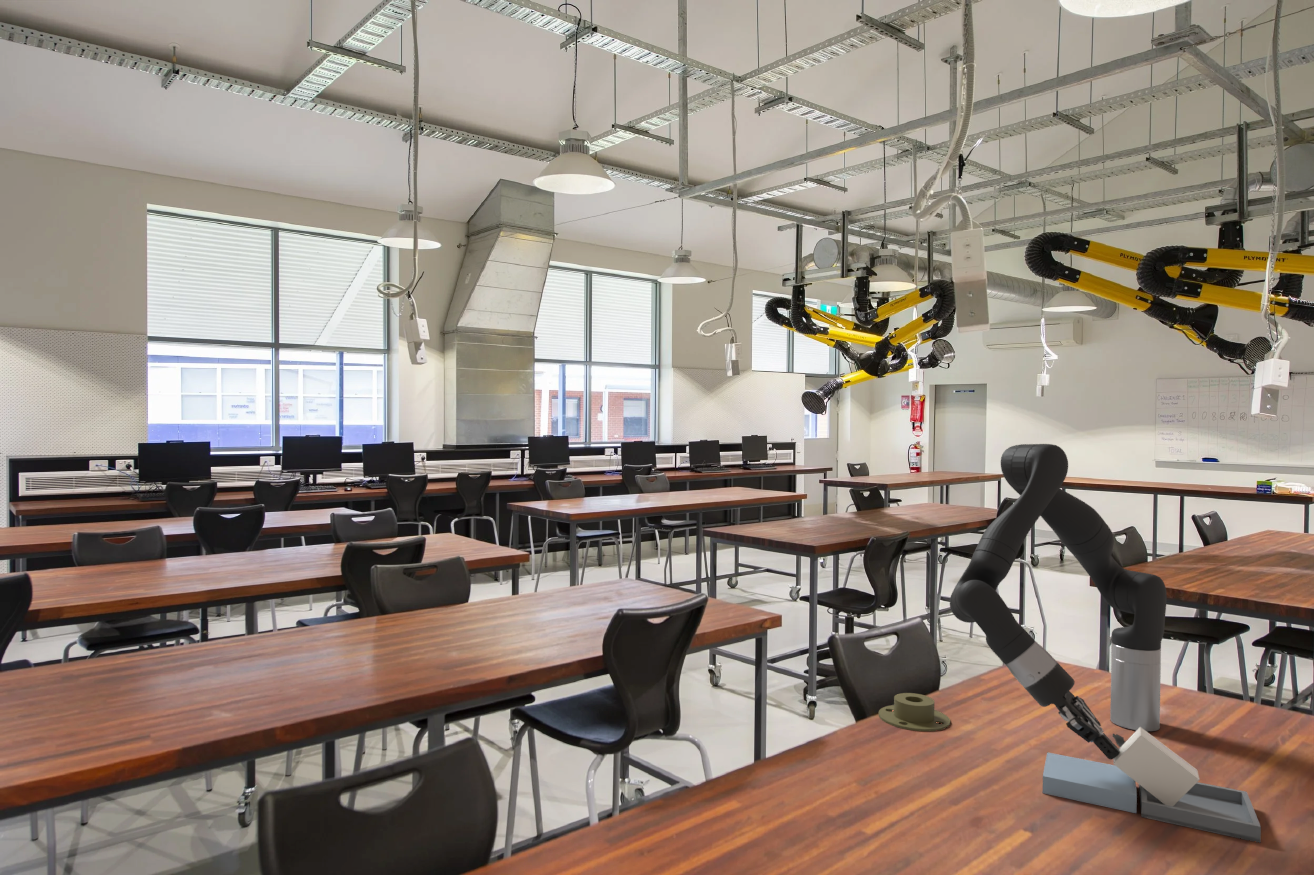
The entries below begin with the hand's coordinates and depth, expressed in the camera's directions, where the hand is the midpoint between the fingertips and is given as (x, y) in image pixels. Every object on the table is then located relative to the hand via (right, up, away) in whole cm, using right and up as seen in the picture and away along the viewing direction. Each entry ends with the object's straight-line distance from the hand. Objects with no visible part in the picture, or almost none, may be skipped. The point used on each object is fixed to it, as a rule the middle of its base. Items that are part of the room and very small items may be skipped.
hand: (1115, 755), depth 136 cm
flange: (-23, -7, +36) cm, 43 cm away
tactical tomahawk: (+14, -8, +16) cm, 23 cm away
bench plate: (-3, -7, +2) cm, 8 cm away
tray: (+10, -7, -6) cm, 13 cm away
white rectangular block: (+3, -4, -2) cm, 5 cm away
